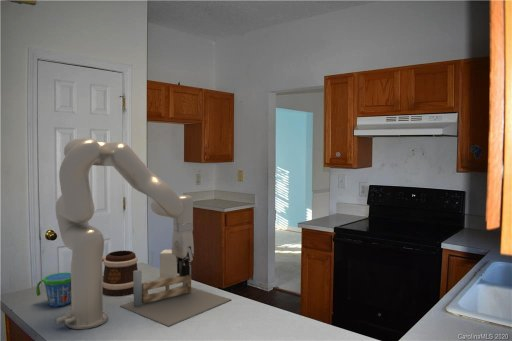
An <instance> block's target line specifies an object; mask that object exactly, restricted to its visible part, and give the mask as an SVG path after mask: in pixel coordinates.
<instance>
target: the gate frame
mask: <svg viewBox="0 0 512 341" xmlns="http://www.w3.org/2000/svg"><path fill="white" fill-rule="evenodd" d="M190 274H191V275H192V265H191V264H190ZM142 283H143V282H142V270H140V269H138V270H135V271H133V284H134V292H133V301H134V307H141V306H142ZM182 285H183V286H186V282H182Z"/></svg>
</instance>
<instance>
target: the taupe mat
mask: <svg viewBox="0 0 512 341" xmlns="http://www.w3.org/2000/svg"><path fill="white" fill-rule="evenodd" d="M178 287H183V284H181V285H179V286H176V287H172V288H171V289H174V288H178ZM231 301H232V298H228V297H225V296H221V295H218V294H215V293H212V292H208V291H205V290H202V289H198V288H195V287H192V286H191V292H190V293H185V294H181V295H177V296H173V297H169V298H165V299H160V300H156V301H152V302H148V303H142V306H141V307H134V300H133V301H130V302H127V303H124V304H120V305H119V307H120V308H122V309H124V310H126V311H128V312H132V313H134V314H135V315H139V316H141V317H144V318H146V319H149V320H151V321H153V322H156V323H158V324H161V325H163V326H166V327H168V328H169V327H171V326H174V325H177V324H179V323H181V322H184V321H187V320H188V319H191V318H193V317H195V316H198V315H200V314H203V313H205V312H207V311H210V310H211V309H215V308H217V307H219V306H221V305H224V304H226V303H228V302H231Z"/></svg>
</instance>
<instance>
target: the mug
mask: <svg viewBox="0 0 512 341" xmlns="http://www.w3.org/2000/svg"><path fill="white" fill-rule="evenodd" d="M102 263H103V265H104V268H103V274H102V285H103V294H105V295H108V296H126V295H130V294H134V284H133V271H135V270H139V268H138V257H137V256H136V253H135V252H134V251H131V250H116V251H115V250H114V251H110V252H109V253H108V254H106V255H105V256H104V255H103V259H102Z"/></svg>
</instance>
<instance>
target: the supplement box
mask: <svg viewBox="0 0 512 341" xmlns="http://www.w3.org/2000/svg"><path fill="white" fill-rule="evenodd" d="M175 276H179V274H178V273H177V262H176V256H175V255H173V254H172V249H163V250H162V251H161V252H160V253H159V280H160V279H165V278H170V277H175Z"/></svg>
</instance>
